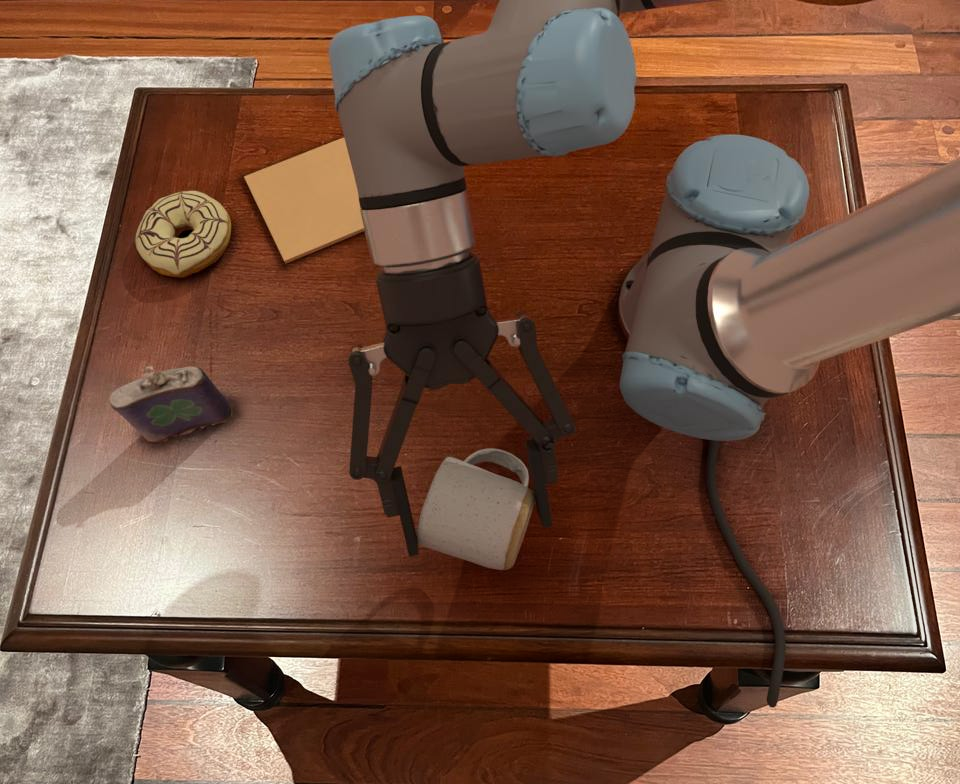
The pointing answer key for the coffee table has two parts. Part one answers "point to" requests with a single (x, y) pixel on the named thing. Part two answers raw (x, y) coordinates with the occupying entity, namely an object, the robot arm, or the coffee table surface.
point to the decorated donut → (173, 219)
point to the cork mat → (309, 200)
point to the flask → (170, 403)
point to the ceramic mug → (477, 510)
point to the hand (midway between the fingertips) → (479, 532)
